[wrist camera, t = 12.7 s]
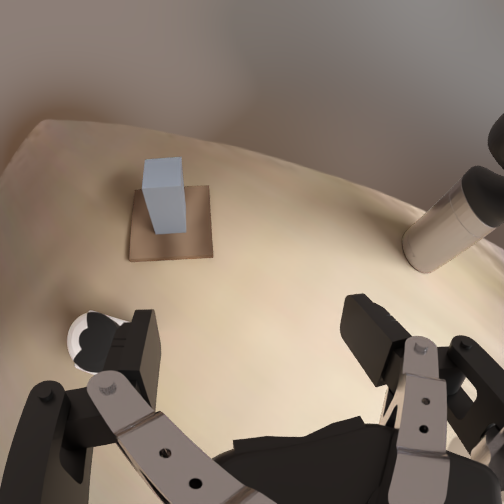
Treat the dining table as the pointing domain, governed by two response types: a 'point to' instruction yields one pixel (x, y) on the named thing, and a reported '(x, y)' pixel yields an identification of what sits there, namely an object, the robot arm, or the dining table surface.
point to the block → (165, 194)
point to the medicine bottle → (91, 340)
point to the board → (174, 244)
